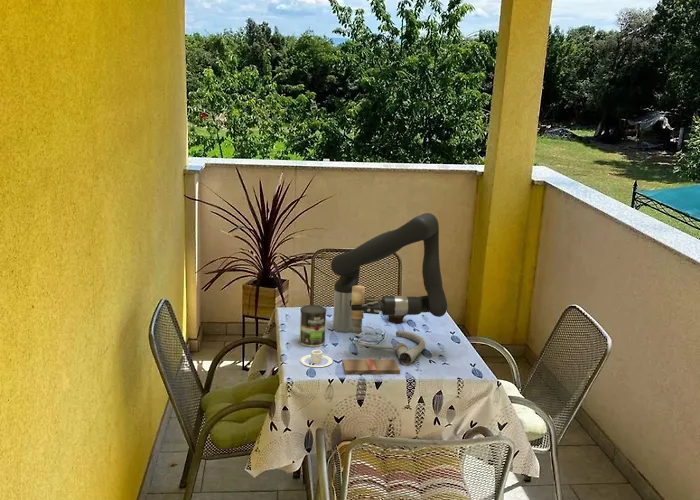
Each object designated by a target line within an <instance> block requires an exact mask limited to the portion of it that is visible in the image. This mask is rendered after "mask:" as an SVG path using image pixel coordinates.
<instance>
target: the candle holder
mask: <svg viewBox="0 0 700 500" xmlns="http://www.w3.org/2000/svg"><path fill="white" fill-rule="evenodd" d="M309 358H310V362H311V363H312V364H308V363H306V362H305V361H306V360H307V359H309ZM323 359H325V360H327V363H326V364H322V363H323ZM300 363H301V364H303V365H304V366H307V367H311V368H323V367H328V366H330V365H331V364H332V363H333V358H331V357H330V356H328V355H324V354H323V351H322V350H321V349H314V350H311V353H310V354H307V355H304V356H302V357H300ZM313 364H314V365H313ZM315 364H316V365H315ZM320 364H322V365H320Z"/></svg>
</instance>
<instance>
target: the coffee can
mask: <svg viewBox="0 0 700 500" xmlns="http://www.w3.org/2000/svg"><path fill="white" fill-rule="evenodd" d="M299 309H300V321H299V322H300V324H299V325H300V326H299V329H300V330H299V344H301V346H305V347H310V348H315V347H322V346H323V345H324V344H325V343H326V342H325V341H326V339H325V338H326V321H327V320H326V319H327V318H326V317H327V308H326V307H324V306H322V305H315V304H310V305H309V304H308V305H303V306H301V307H300V308H299Z"/></svg>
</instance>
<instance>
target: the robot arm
mask: <svg viewBox="0 0 700 500" xmlns="http://www.w3.org/2000/svg"><path fill="white" fill-rule="evenodd" d="M439 228H440V227H439V221H438V219H437V216H435V215H434V214H433V213H430V212H425V213H421V214H419V215H417V216H414V217H413V218H411V219H410V220H408V221H407V222H406V223H405V224H403V225H401V226H400V227H398V228H396V229H393V230H389V231H388V230H387V231H386V232H383V233H381V234H378V235H376V236H374V237H372V238H371V239H368V240H367V241H365V242H363V243H362V244H360V245H359V246H357V247H355V248H353V249H352V250H349V251H347V252H343V253H339V254H336V255H335V256H334V257H333V258H332V259H331V263H330V269H331V270H332V272H333V274H335V275H336V276H338V277H339V278H338V279H337V280H336V281H335V282H334V286H333V287H334V290H333V310H332V311H333V312H332V313H333V314H332V315H333V317H332V329H333V330H334V331H337V332H339V333H348V332H351V323H352V318H351V310H352V311H362V312H364V313H363V314H370V315H371V314H372V315H380V313H381V314H382V315H383V316H388V315H406V316H416V315H420V314H421V313H423V314H424V313H429V314H431V315H432V316H434V317H437V318H439V317H440V318H441V317H443V316H444V315H445V314H446V313H447V310H448V301H447V297H446V294H445V290H444V285H443V278H442V272H441V267H440V266H441V265H440V264H441V263H440V247H439V246H440V241H439V240H440V239H439V237H440V229H439ZM421 241H423V259H422V267H421V268H422V269H421V273H422V281H423V287H424V289H425V292H426V294H427V295H422V296H421V295H420V296H404V295H383V296H382V297H381V299H376V297H375V296H370V297H369V296H368V297H364V304H363V305H362V306H361V305H351V301H352V286H356V285H358V284H359V280H360V271H361V266H364V265H368V264H372V263H375V262H378V261H381V260H384V259H385V258H388V257H390V256H392V255H394V254H395V253H397V252H398V251H400V250H401V249H402V248H404V247H406V246H408V245H411V244H415V243H417V242H418V243H419V242H421Z"/></svg>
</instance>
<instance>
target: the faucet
mask: <svg viewBox="0 0 700 500" xmlns="http://www.w3.org/2000/svg"><path fill="white" fill-rule="evenodd" d="M395 335H396V337H398V338H399V337H400V338H404V339H405V338H406V339H409V340H412V341H415V342H417V343H418V344H417V345H416V346H415V347H413V348H410V349H409V347H408V345H407V344H405V343H403V342H400V343H397V344H396V346H395V347H391V346H384V345H374V344H367V343H365V342H364V343H362V342H358V345H360V346H361V347H366V348H373V349H383V350H390V351H395V352H396V354H397V356H398V359H399V361H400V362H401V364H403V365H405V366H408V365H410V364H412V362H414V360H416V358H417V356H418V355H419V354H421V352H423V350H424V348H425V346H426V342H425V340H424V338H423V337H422V336H420V335H419V334H417V333H414V332H411V331H406V330H400V329H398V330H396V332H395Z"/></svg>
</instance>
